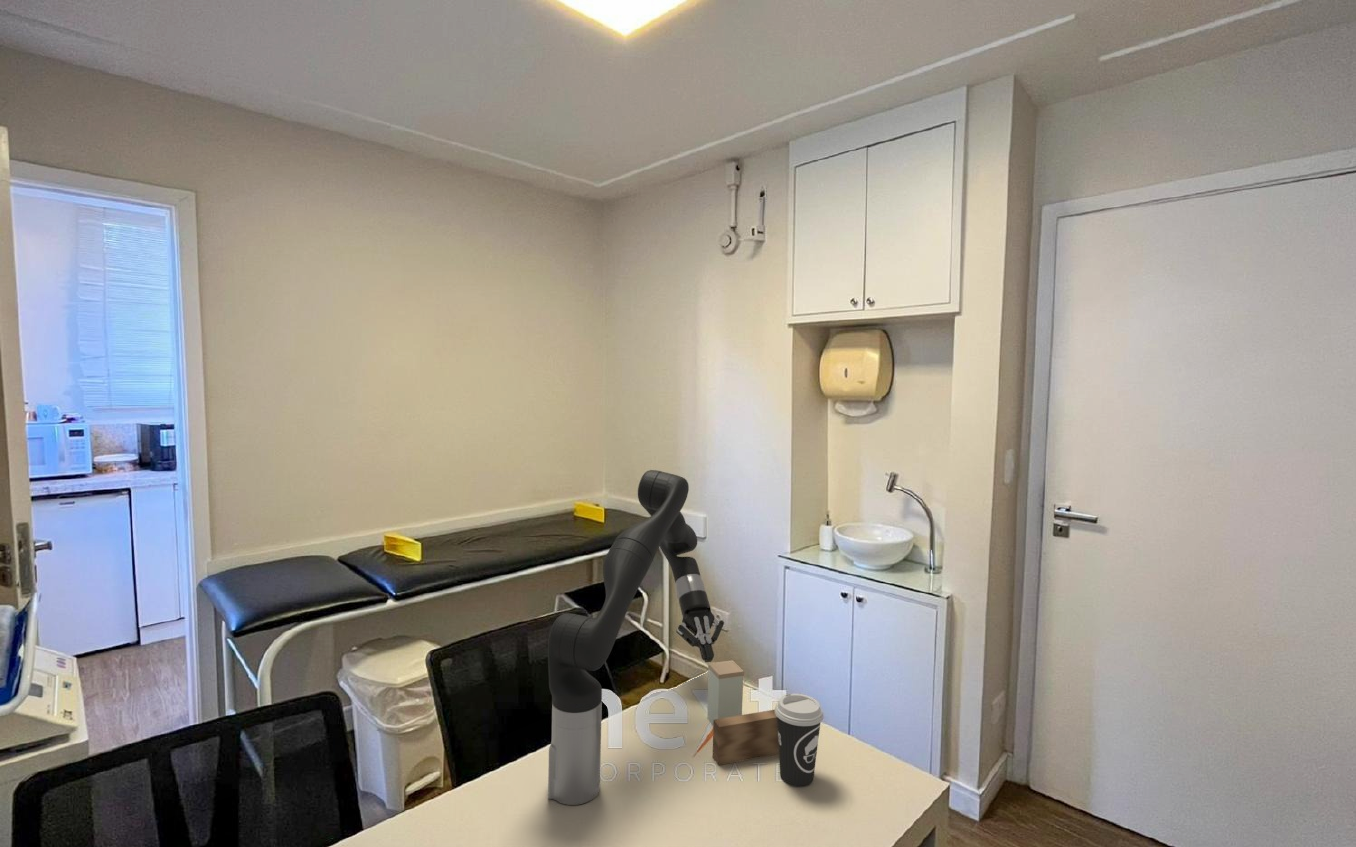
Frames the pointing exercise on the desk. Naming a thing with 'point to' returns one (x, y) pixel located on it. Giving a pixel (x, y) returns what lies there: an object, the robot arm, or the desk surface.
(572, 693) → the robot arm
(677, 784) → the desk surface
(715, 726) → the board
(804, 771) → the coffee cup
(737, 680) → the canister
